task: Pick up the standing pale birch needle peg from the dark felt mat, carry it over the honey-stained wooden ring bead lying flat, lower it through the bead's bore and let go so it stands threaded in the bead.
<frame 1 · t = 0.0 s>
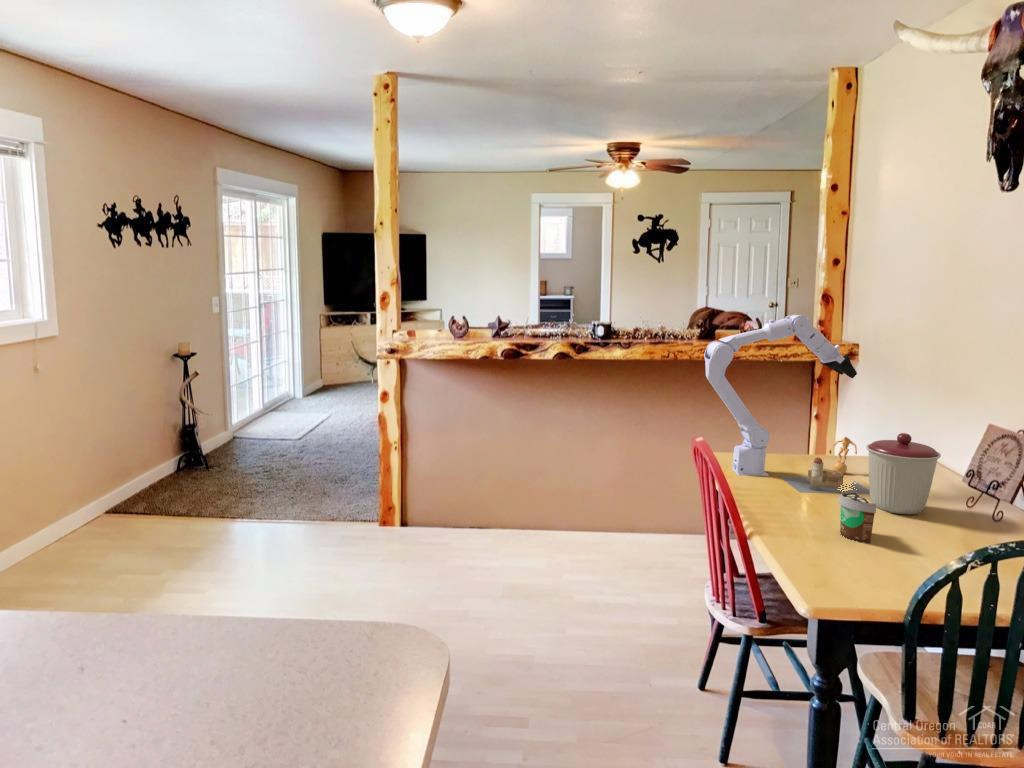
hand: (849, 374, 244), 32 cm above the table, tool tilted 50°, fingers open, 7 cm apart
canister: (896, 509, 215), on the table
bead: (825, 482, 239), resting on felt mat
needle: (815, 489, 231), resting on felt mat
felt mat: (825, 486, 236), on the table
food container: (849, 536, 192), on the table
figurine: (840, 474, 251), on the table
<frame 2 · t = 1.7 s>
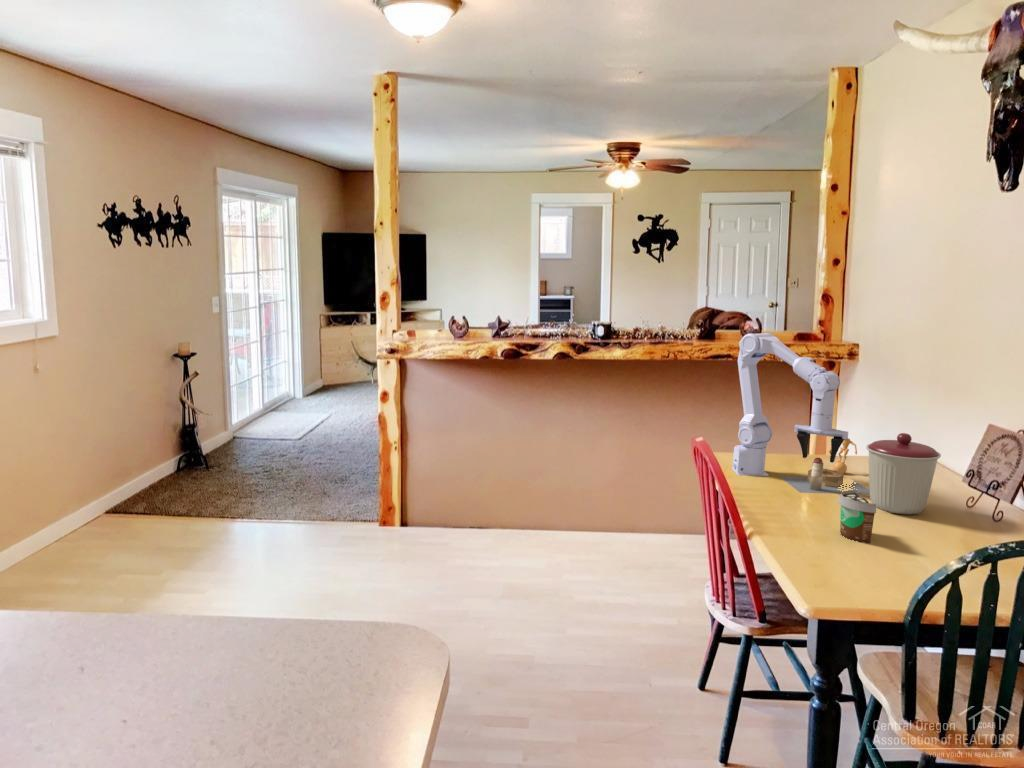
hand: (818, 459, 229), 9 cm above the table, tool pointing down, fingers open, 7 cm apart
nothing on the table moved.
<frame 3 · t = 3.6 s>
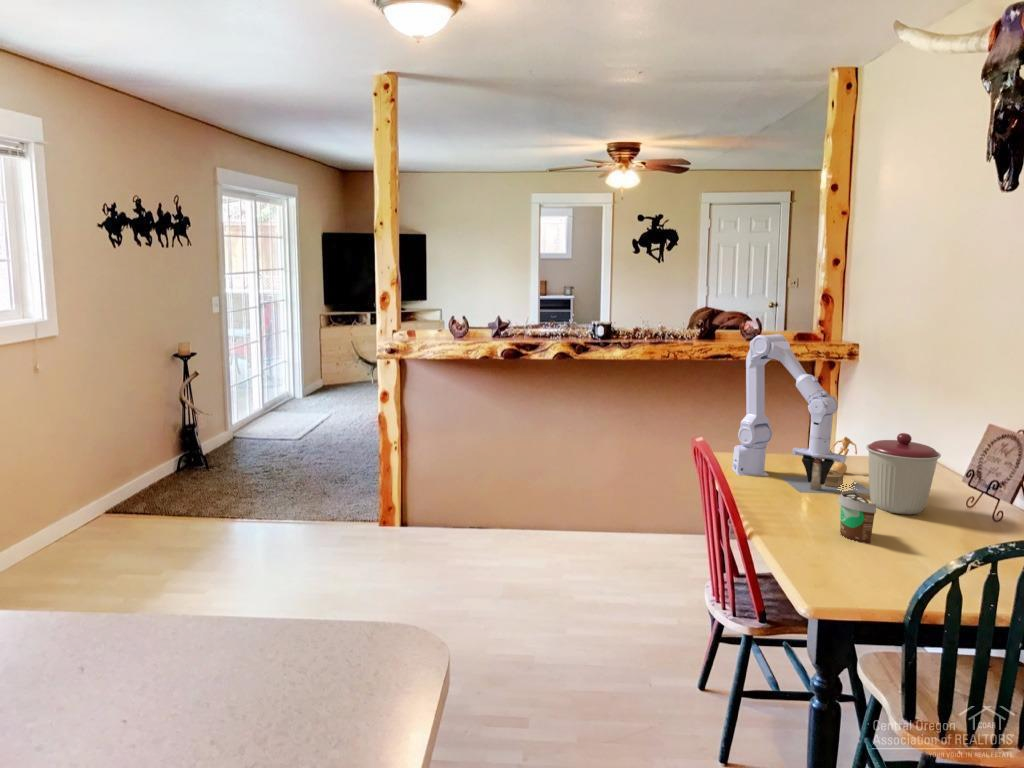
hand: (816, 482, 230), 2 cm above the table, tool pointing down, fingers closed on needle, 3 cm apart
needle: (815, 489, 231), resting on felt mat, touching gripper
everything else where it was.
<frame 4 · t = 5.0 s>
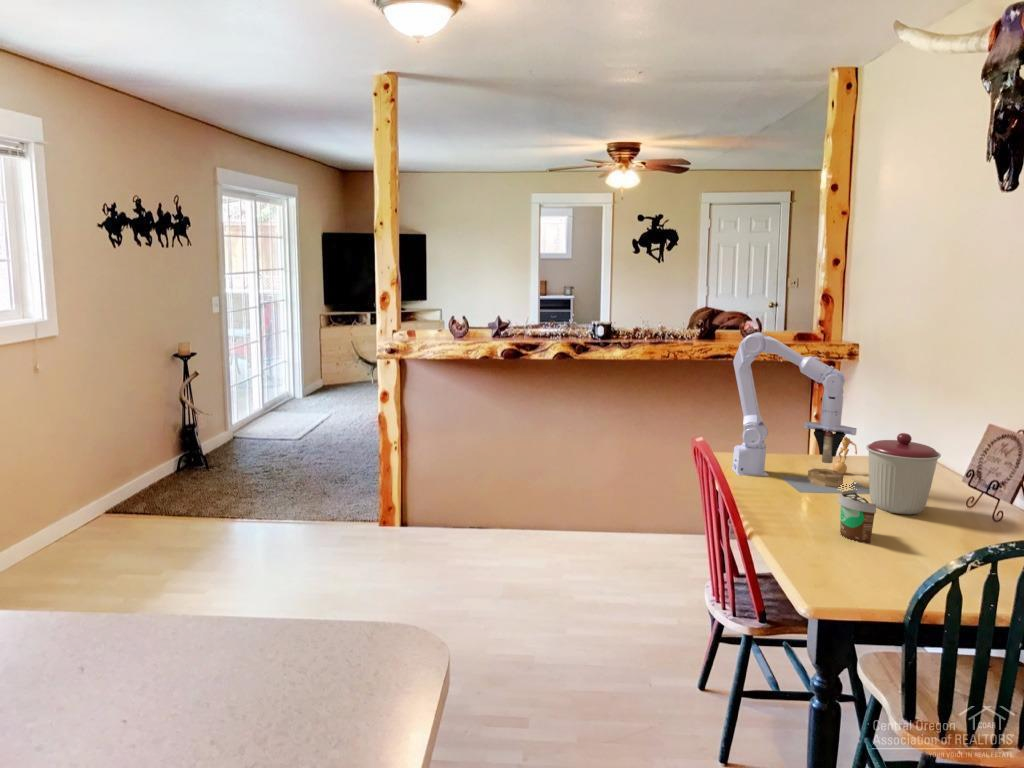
hand: (827, 455, 237), 9 cm above the table, tool pointing down, fingers closed on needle, 3 cm apart
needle: (827, 461, 238), point 7 cm above the table, touching gripper
everything else where it was.
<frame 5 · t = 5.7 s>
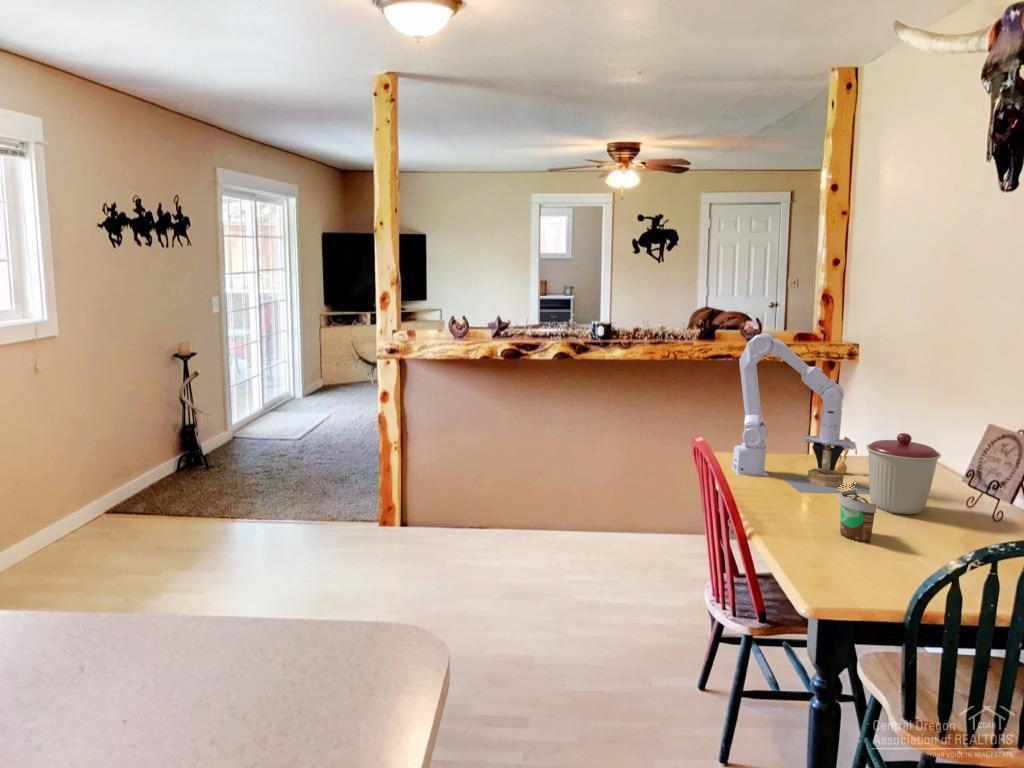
hand: (826, 469, 238), 5 cm above the table, tool pointing down, fingers closed on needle, 3 cm apart
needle: (825, 475, 238), point 2 cm above the table, touching gripper
everything else where it was.
when the fingers open (4 cm above the table, at t = 6.4 s): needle drops 2 cm, resting on felt mat.
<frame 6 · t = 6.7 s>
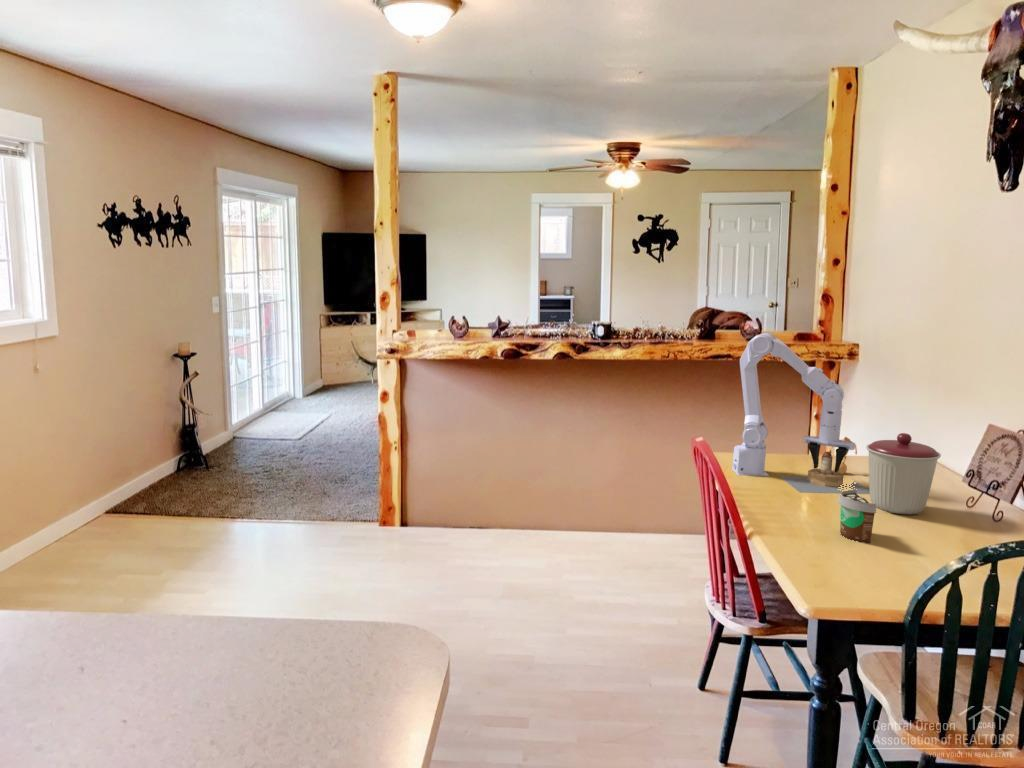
hand: (826, 469, 238), 4 cm above the table, tool pointing down, fingers open, 5 cm apart
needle: (825, 481, 239), resting on felt mat
everything else where it was.
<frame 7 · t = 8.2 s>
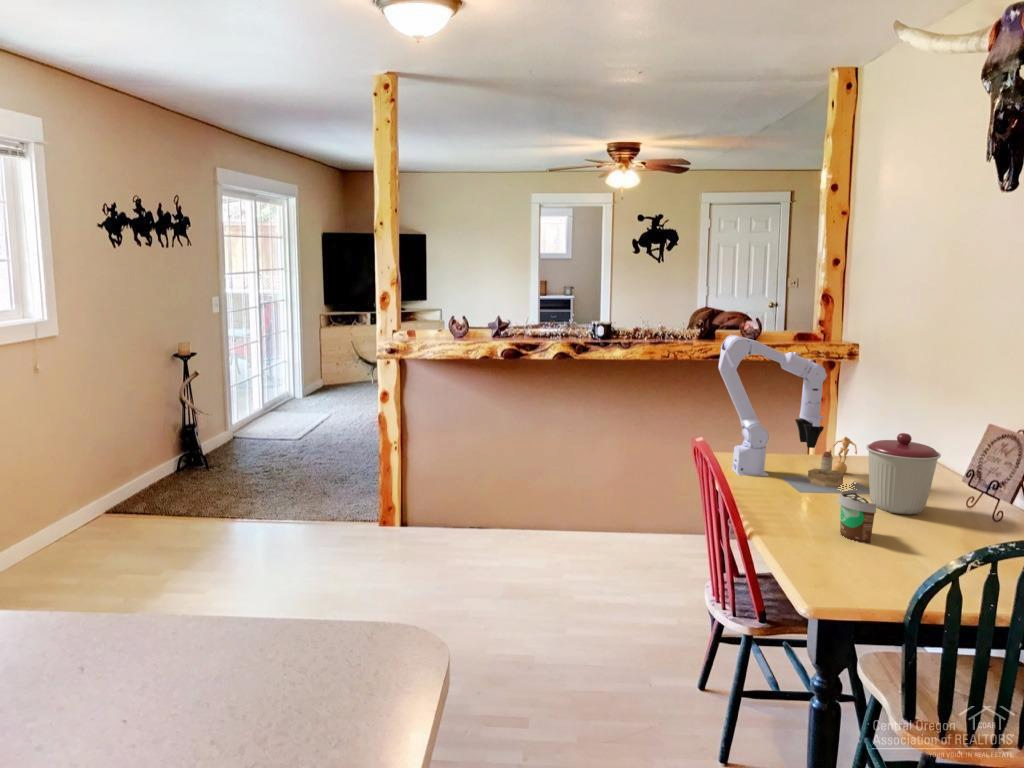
hand: (807, 444, 246), 10 cm above the table, tool pointing down, fingers open, 7 cm apart
nothing on the table moved.
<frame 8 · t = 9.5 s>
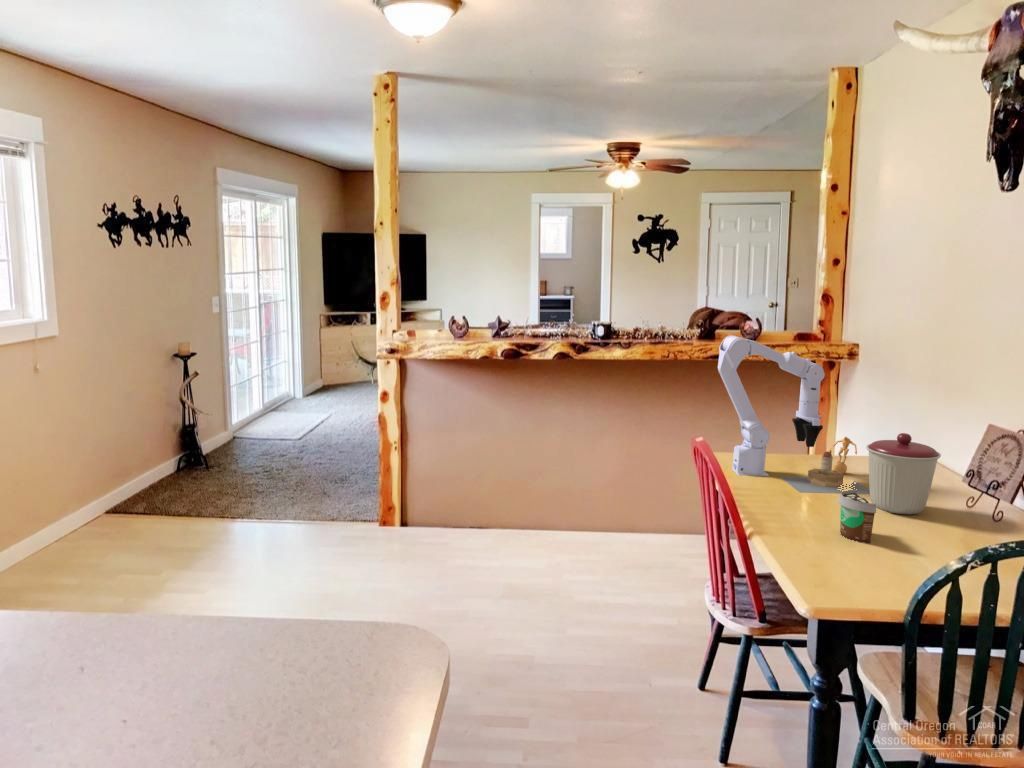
hand: (805, 443, 247), 10 cm above the table, tool pointing down, fingers open, 7 cm apart
nothing on the table moved.
at the end: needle 0.0 cm off-centre on the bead, point 0.0 cm above the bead's base; the gripper is holding nothing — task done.
